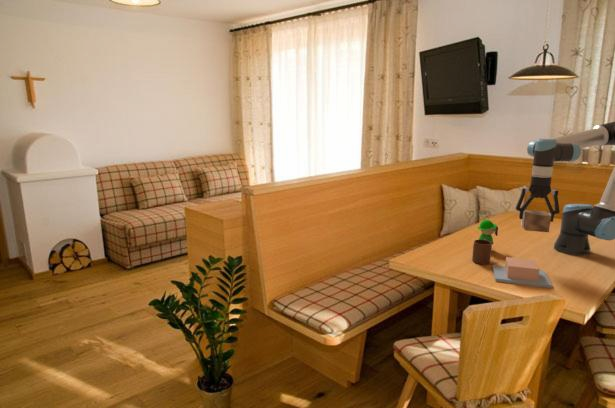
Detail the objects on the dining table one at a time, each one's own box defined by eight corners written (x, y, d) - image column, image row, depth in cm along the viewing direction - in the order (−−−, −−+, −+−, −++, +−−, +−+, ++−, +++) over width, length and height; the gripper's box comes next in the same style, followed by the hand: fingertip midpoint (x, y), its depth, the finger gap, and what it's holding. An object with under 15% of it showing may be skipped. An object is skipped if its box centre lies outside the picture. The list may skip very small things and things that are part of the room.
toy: (496, 253, 205) (499, 222, 201) (477, 251, 206) (480, 221, 203) (492, 247, 213) (495, 218, 210) (473, 246, 215) (476, 217, 212)
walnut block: (544, 226, 187) (546, 211, 186) (548, 232, 179) (551, 216, 177) (521, 225, 190) (523, 209, 188) (525, 230, 181) (527, 214, 180)
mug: (476, 255, 202) (478, 236, 200) (493, 258, 198) (495, 238, 196) (470, 262, 192) (472, 242, 190) (488, 266, 188) (490, 245, 186)
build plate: (544, 273, 180) (546, 259, 178) (551, 288, 165) (553, 273, 164) (492, 267, 186) (494, 253, 185) (495, 281, 172) (497, 266, 170)
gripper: (569, 176, 179) (561, 227, 184) (512, 173, 186) (506, 223, 191) (573, 179, 172) (565, 232, 177) (513, 175, 179) (507, 227, 184)
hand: (534, 227), depth 184 cm, fingers closed on walnut block, 9 cm apart
